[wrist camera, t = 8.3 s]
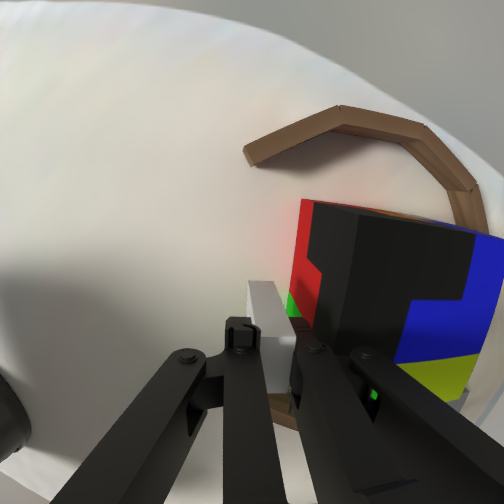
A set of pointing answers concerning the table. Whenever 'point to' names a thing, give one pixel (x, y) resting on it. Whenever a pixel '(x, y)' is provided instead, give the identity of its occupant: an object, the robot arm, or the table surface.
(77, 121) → the table surface
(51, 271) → the table surface
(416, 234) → the puzzle toy
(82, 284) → the table surface
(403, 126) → the rim
